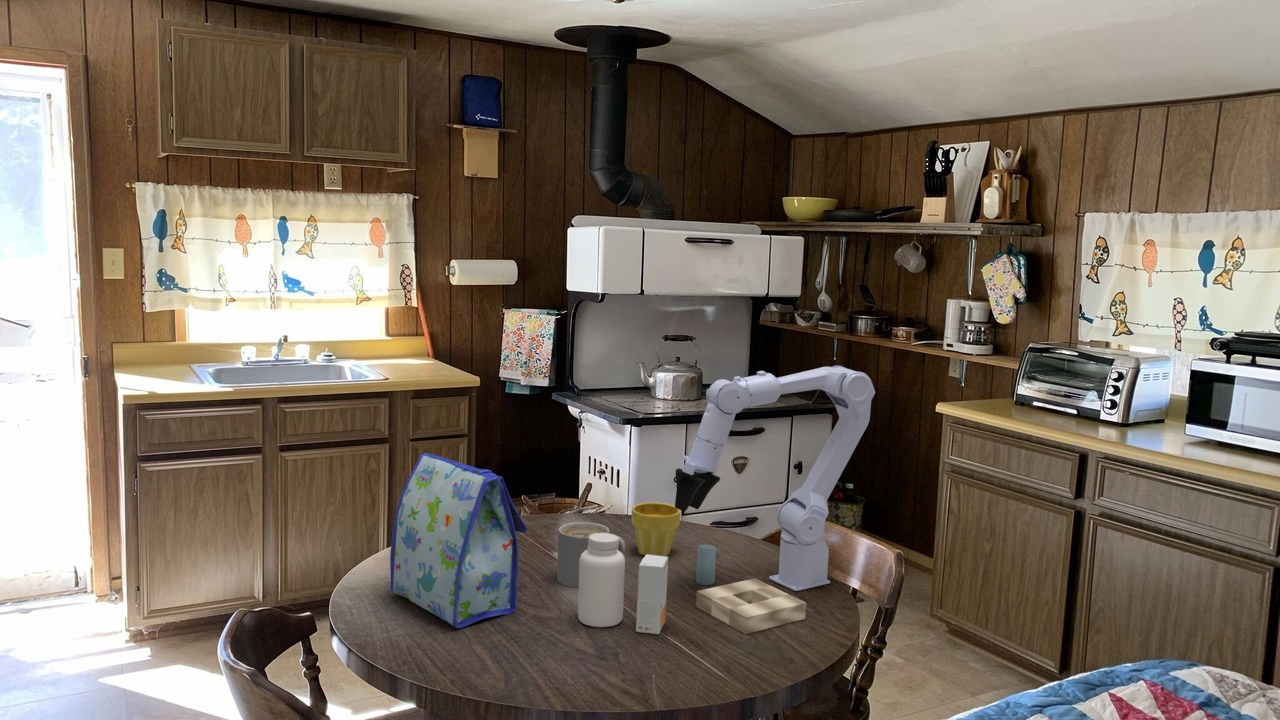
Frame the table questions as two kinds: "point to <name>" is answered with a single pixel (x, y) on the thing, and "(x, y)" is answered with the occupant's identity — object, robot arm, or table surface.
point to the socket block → (750, 605)
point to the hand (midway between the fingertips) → (686, 508)
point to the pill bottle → (601, 582)
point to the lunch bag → (456, 542)
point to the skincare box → (651, 594)
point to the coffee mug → (576, 549)
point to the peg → (706, 564)
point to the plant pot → (655, 527)
